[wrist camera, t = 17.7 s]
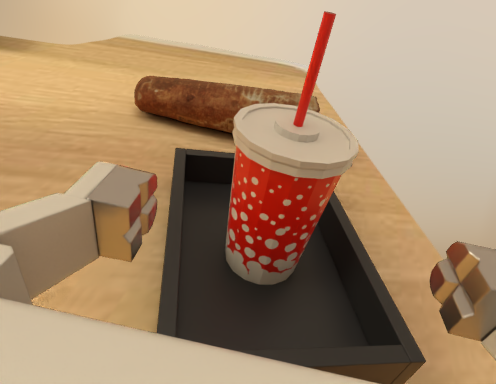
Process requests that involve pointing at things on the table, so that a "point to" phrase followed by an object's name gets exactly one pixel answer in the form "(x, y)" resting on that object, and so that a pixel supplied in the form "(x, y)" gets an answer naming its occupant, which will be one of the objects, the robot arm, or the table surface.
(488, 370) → the table surface
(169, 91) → the bread
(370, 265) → the tray
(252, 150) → the beverage cup
